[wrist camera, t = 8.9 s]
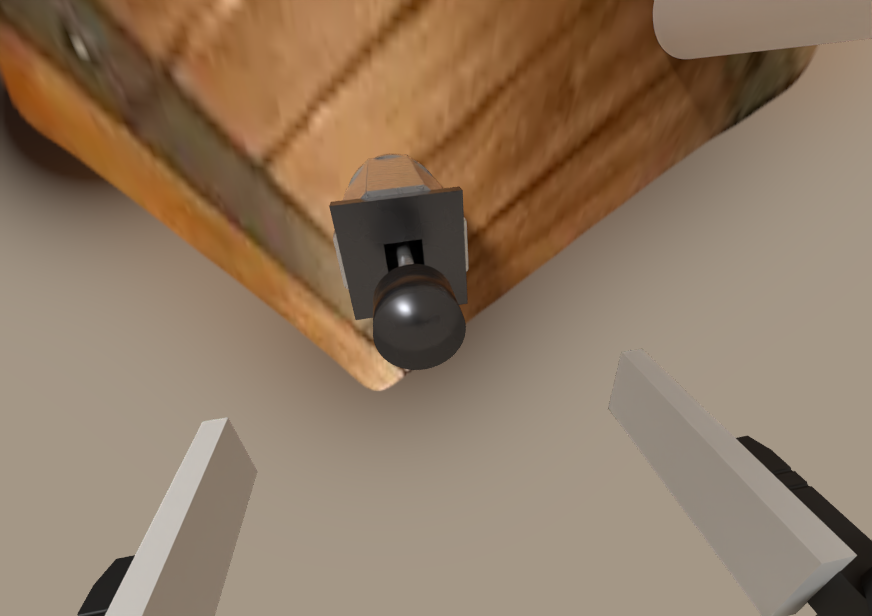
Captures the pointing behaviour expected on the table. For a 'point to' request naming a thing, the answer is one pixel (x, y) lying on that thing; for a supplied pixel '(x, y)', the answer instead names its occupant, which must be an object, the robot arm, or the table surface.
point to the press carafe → (397, 227)
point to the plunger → (415, 314)
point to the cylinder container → (756, 25)
